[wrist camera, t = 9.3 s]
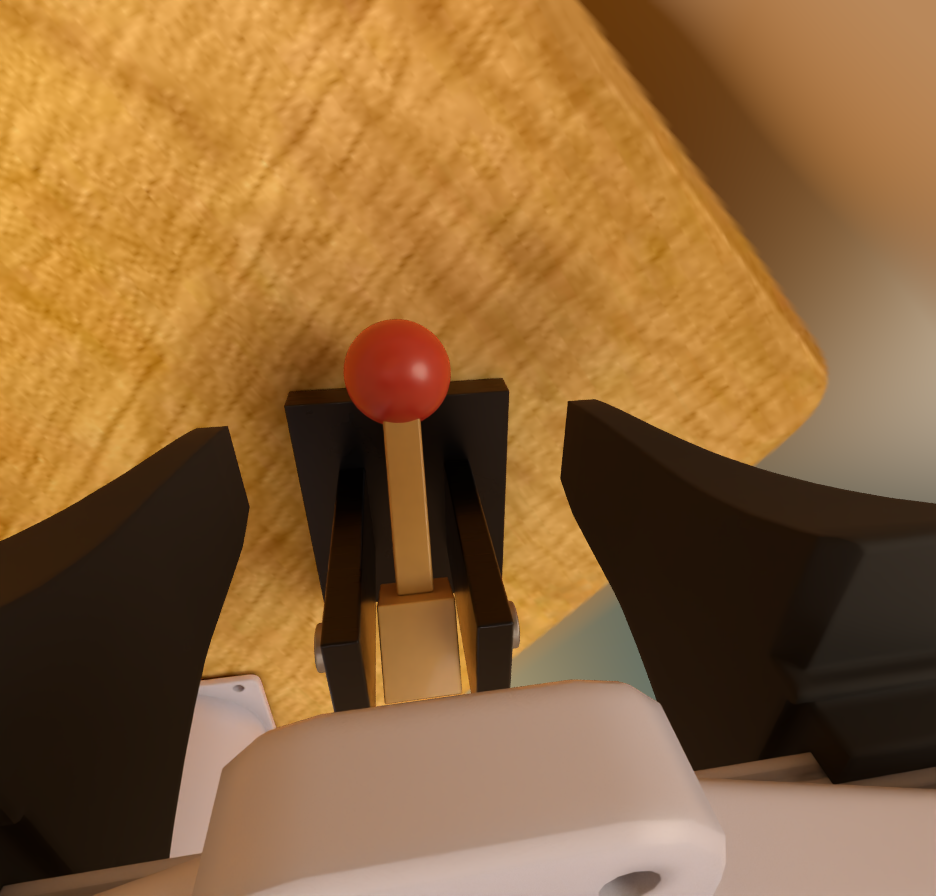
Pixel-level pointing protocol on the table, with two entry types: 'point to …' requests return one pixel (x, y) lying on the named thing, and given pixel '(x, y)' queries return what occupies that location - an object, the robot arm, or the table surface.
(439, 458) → the switch bracket
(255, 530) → the table surface
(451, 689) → the switch lever
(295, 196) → the table surface
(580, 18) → the table surface
